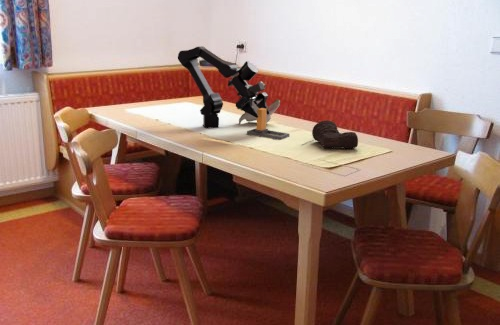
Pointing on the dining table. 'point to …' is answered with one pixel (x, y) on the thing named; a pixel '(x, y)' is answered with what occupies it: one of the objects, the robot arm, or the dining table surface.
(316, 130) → the dark brown bent piece
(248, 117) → the toy
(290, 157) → the dining table surface
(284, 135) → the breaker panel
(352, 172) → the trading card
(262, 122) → the breaker toggle
